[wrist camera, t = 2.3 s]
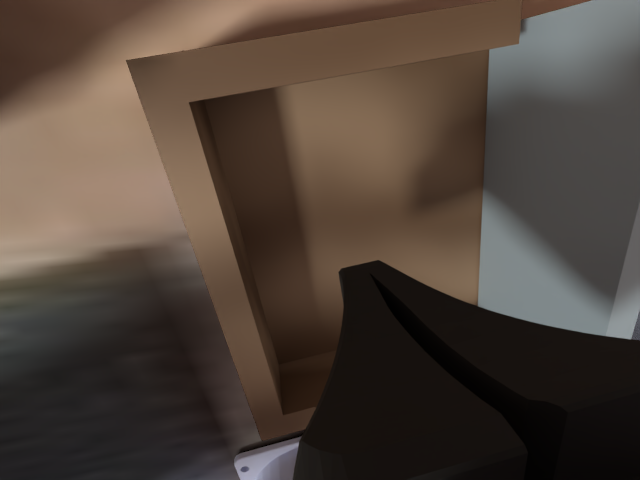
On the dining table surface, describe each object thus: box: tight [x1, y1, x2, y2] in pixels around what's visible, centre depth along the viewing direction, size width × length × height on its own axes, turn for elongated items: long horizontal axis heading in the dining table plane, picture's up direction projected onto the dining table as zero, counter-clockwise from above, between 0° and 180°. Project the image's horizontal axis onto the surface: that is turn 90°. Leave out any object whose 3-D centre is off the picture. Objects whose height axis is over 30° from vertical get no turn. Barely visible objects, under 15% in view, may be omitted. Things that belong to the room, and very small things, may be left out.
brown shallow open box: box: [126, 0, 522, 441], centre depth 14 cm, size 15×13×4 cm
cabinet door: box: [478, 0, 640, 339], centre depth 13 cm, size 1×14×6 cm, turn 9°
